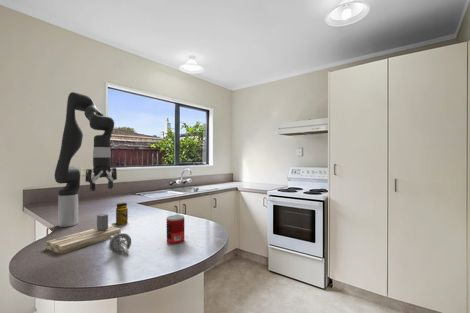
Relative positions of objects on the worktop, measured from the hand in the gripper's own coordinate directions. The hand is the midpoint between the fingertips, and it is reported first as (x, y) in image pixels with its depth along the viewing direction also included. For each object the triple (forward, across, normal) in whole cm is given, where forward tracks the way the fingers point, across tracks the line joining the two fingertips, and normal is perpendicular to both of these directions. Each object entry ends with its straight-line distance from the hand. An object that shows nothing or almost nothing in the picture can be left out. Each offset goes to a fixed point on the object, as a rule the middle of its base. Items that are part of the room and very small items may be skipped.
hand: (101, 189), depth 113 cm
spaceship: (+23, +10, +28) cm, 37 cm away
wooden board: (+22, +8, +1) cm, 24 cm away
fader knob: (+21, 0, +1) cm, 21 cm away
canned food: (+22, -11, +38) cm, 45 cm away
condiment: (+23, -17, -10) cm, 30 cm away
